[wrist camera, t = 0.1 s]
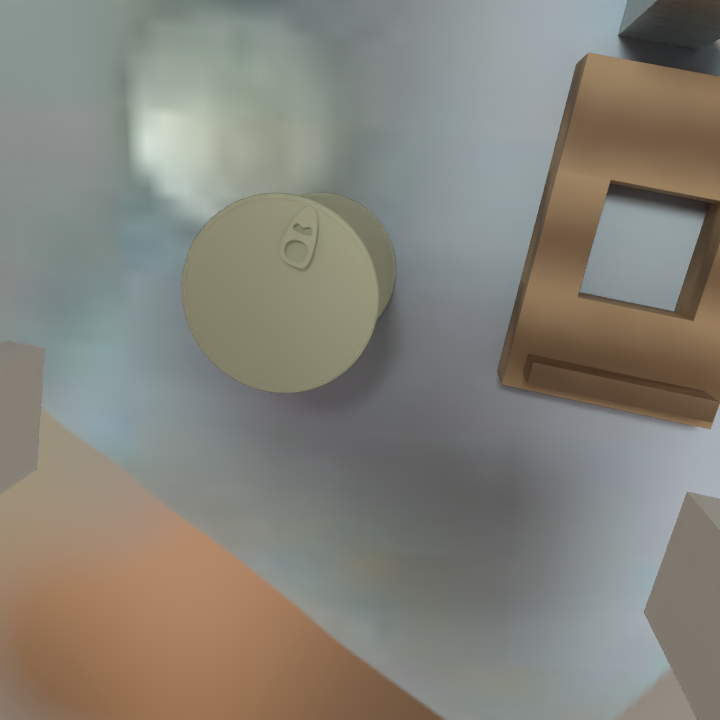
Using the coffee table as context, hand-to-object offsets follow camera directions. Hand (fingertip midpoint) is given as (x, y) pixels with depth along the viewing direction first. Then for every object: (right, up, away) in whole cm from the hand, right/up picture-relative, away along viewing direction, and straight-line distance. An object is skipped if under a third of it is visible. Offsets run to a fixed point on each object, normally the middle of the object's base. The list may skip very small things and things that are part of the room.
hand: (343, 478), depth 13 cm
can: (-2, +8, +27) cm, 29 cm away
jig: (+16, +9, +25) cm, 31 cm away
